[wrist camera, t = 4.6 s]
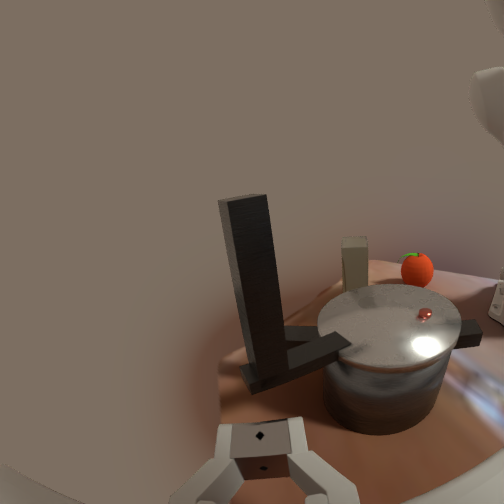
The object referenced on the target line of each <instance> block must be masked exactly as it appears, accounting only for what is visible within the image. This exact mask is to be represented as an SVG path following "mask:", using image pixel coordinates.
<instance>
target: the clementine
mask: <svg viewBox="0 0 504 504" xmlns="http://www.w3.org/2000/svg"><path fill="white" fill-rule="evenodd" d="M408 255H410V256H408ZM404 256H408V257H407V258H406V259H405V260H404V262H403V264H402V267H401V275H402V278H403V281H404V282H405V283H406V284H407V285H412V286H417V287H422V288H423V287H425V286H426V285H427V284H428V283H429V282H430V281H431V279H432V277H433V265H432V262H431V261H430V259H429V258H428V257H427V256H426V255H424V254H421V253H409V254H406V255H404ZM404 256H402V257H404Z"/></svg>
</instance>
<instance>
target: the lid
mask: <svg viewBox="0 0 504 504" xmlns="http://www.w3.org/2000/svg"><path fill="white" fill-rule="evenodd" d="M218 205H219V210H220V216H221V222H222V227H223V232H224V239H225V244H226V249H227V255H228V260H229V265H230V271H231V277H232V281H233V287H234V292H235V297H236V302H237V308H238V312H239V318H240V322H241V327H242V333H243V337H244V342H245V347H246V352H247V357H248V361H249V364H246V365H243V366H240V371H241V375H242V378H243V380H244V382H245V384H246V385H247V387H248V389H249V391H250V393H251V395H253V394H256V393H259V392H262V391H265V390H268V389H270V388H273V387H276V386H278V385H281V384H284V383H286V382H289V381H291V380H294V379H296V378H299V377H301V376H304V375H306V374H308V373H311V372H313V371H316V370H318V369H320V368H322V367H325V366H327V365H329V364H331V363H333V362H336V361H338V360H339V361H341V362H343V363H345V364H347V365H349V366H352V367H354V368H357V369H361V370H364V371H369V372H375V373H386V374H393V373H406V372H412V371H416V370H420V369H423V368H426V367H429V366H431V365H433V364H435V363H437V362H439V361H440V360H442V359H443V358H444V357H446V356H447V355H448V354H449V353H450V352H451V351H452V350H453V348H454V347H455V345H456V343H457V341H458V338H459V334H460V330H461V316H460V313H459V311H458V309H457V308H456V307H455V305H454V304H453V303H452V302H451V301H450V300H448V299H447V298H446V297H444V296H442V295H440V294H438V293H436V292H434V291H431V290H429V289H425V288H422V287H417V286H412V285H403V284H380V285H371V286H365V287H360V288H357V289H353V290H350V291H347V292H345V293H343V294H340V295H338V296H337V297H335V298H333V299H332V300H330V301H329V302H328V303H327V304H326V305H325V306H324V307H323V308H322V310H321V311H320V313H319V316H318V322H317V325H318V336H319V338H318V339H315V340H313V341H310V342H308V343H305V344H302V345H300V346H297V347H295V348H292V349H289V350H287V347H286V338H285V330H284V321H283V313H282V306H281V298H280V289H279V282H278V274H277V267H276V259H275V252H274V245H273V237H272V230H271V223H270V216H269V209H268V202H267V196H266V194H249V195H244V196H238V197H233V198H228V199H222V200H218Z"/></svg>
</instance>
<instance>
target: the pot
mask: <svg viewBox="0 0 504 504" xmlns="http://www.w3.org/2000/svg"><path fill="white" fill-rule="evenodd" d="M284 330H285V338H286V347H287V350H289V349H292V348H295V347H297V346H300V345H302V344H305V343H308V342H310V341H313V340H315V339H318V338H319V336H318V326H284ZM482 334H483V333H482V331H481V329H480V327H479V325H478V324H477V322H476V320H475V319H473V320H463V321H461V330H460V334H459V338H458V341H457V343H456V345H455V347H454V348H453V349H459V348H468V347H475V346H479V345H480V341H481V338H482ZM450 355H451V352H450V353H449V354H448V355H447V356H446V357H444V358H443V359H442V360H440V361H439V362H437V363H435V364H433V365H431V366H429V367H426V368H423V369H420V370H416V371H412V372H406V373H393V374H386V373H375V372H369V371H364V370H361V369H357V368H354V367H352V366H349V365H347V364H345V363H343V362H341V361H339V360H338V361H336V362H333V363H331V364H329V365H327V366H325V367H323V399H324V403H325V406H326V408H327V410H328V412H329V413H330V415H331V416H332V417H333V418H334V419H335V420H336V421H337V422H338V423H340V424H341V425H343V426H344V427H346V428H348V429H350V430H352V431H355V432H358V433H362V434H368V435H390V434H395V433H399V432H402V431H405V430H407V429H409V428H411V427H413V426H415V425H416V424H418V423H419V422H421V421H422V420H423V419H424V418H425V417H426V416H427V415H428V414H429V413H430V411H431V409H432V408H433V406H434V404H435V401H436V399H437V396H438V393H439V390H440V387H441V384H442V381H443V378H444V375H445V372H446V369H447V365H448V362H449V358H450Z"/></svg>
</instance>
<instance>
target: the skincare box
mask: <svg viewBox="0 0 504 504" xmlns="http://www.w3.org/2000/svg"><path fill="white" fill-rule="evenodd" d="M341 247H342V248H341V249H342V280H343V293H345V292H347V291H350V290H353V289H357V288H360V287H365V286H368V241H367V237H366V236H360V237H343V238H342V245H341Z"/></svg>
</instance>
